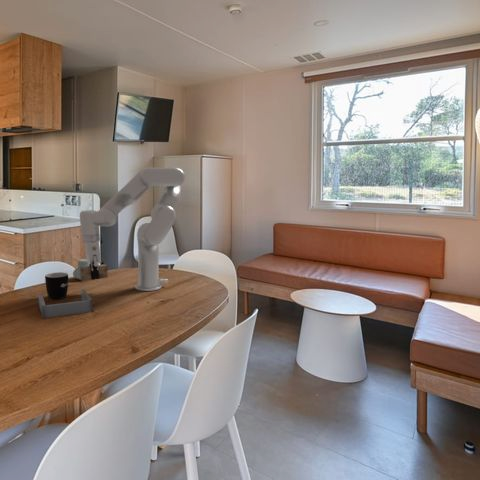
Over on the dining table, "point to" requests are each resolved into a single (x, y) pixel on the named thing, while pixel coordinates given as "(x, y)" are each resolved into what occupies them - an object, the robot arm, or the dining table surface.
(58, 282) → the mug
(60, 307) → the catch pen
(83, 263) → the air freshener
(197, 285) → the dining table surface
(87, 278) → the light brown rectangular block
